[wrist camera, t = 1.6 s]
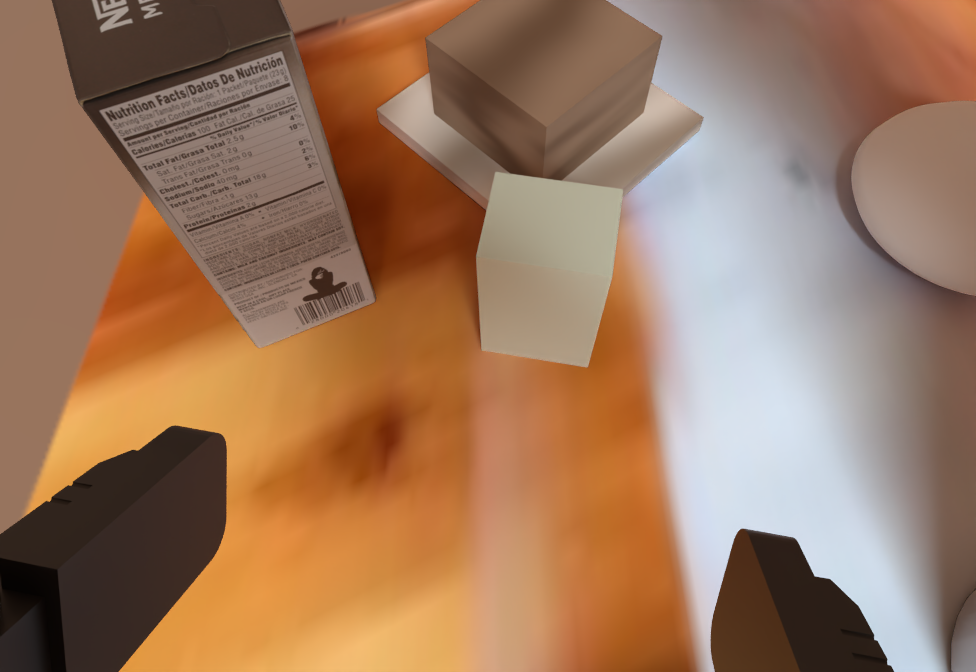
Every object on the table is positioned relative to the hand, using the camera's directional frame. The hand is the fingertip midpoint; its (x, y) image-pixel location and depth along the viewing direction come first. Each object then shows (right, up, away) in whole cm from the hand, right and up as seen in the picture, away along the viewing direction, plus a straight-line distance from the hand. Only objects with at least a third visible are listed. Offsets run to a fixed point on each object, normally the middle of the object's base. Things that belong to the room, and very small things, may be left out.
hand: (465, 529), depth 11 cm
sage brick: (+3, +4, +23) cm, 23 cm away
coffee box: (-9, +7, +25) cm, 27 cm away
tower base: (+3, +15, +28) cm, 32 cm away
